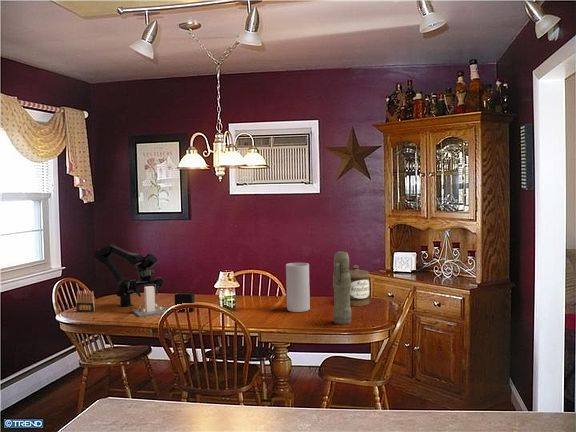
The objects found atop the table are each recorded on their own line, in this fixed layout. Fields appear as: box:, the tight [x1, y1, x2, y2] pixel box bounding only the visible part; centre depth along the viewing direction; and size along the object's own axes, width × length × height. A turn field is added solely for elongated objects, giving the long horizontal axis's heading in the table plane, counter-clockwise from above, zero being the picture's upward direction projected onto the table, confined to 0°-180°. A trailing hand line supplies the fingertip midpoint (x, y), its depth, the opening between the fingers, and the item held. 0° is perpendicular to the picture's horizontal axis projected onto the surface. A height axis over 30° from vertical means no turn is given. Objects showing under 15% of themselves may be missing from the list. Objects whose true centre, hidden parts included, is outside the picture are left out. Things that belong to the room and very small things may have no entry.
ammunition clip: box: [76, 290, 96, 313], centre depth 323 cm, size 11×2×12 cm, turn 78°
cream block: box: [143, 285, 156, 312], centre depth 317 cm, size 4×4×13 cm
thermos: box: [332, 250, 352, 325], centre depth 286 cm, size 9×12×35 cm
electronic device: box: [174, 292, 196, 313], centre depth 318 cm, size 4×10×10 cm, turn 78°
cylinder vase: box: [285, 262, 311, 313], centre depth 315 cm, size 12×12×25 cm
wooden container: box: [349, 264, 370, 307], centre depth 328 cm, size 15×15×22 cm
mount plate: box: [131, 303, 167, 318], centre depth 318 cm, size 16×16×3 cm
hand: (148, 295), depth 319 cm, fingers open, 9 cm apart
